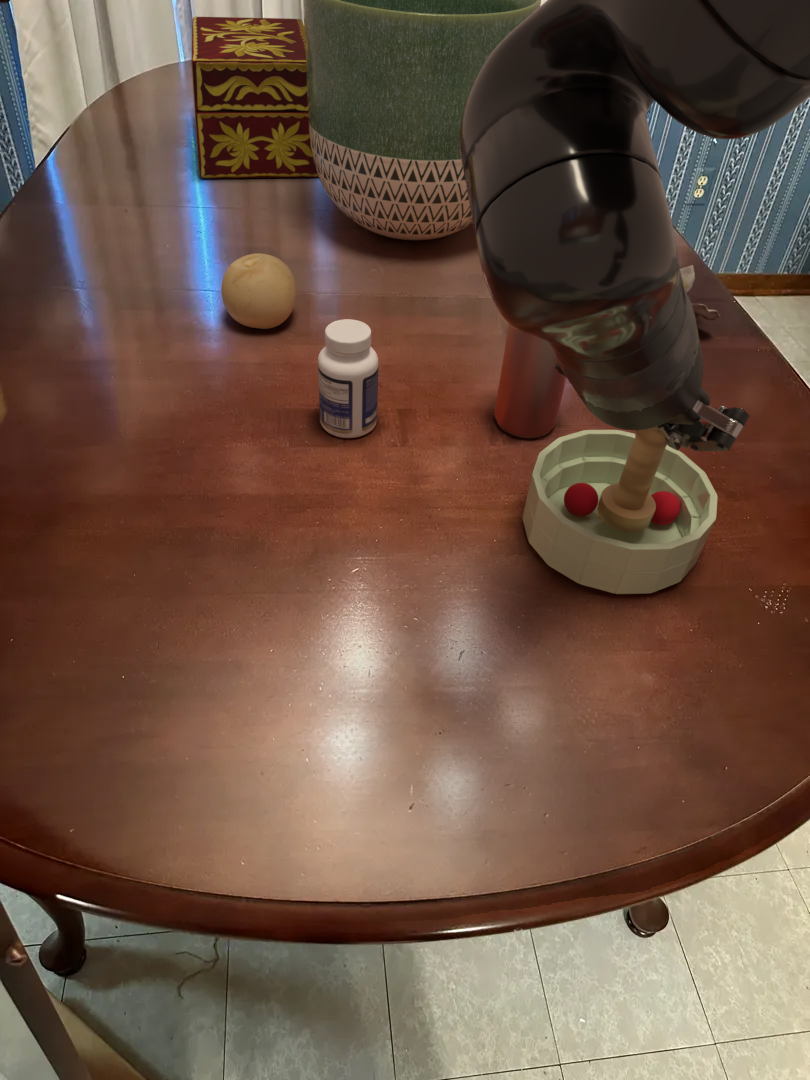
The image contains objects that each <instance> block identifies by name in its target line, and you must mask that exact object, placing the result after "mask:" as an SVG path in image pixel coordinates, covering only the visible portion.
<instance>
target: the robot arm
mask: <svg viewBox="0 0 810 1080" xmlns="http://www.w3.org/2000/svg"><path fill="white" fill-rule="evenodd" d="M809 98H810V0H546V1H545V2H543V3H541V6H540V7H539V8H538V9H537V10H536V11H534V12H533V13H532V14H531V15H530V16H529V17H527V18H526V19H525V20H524V21H523V22H522V23H520V24H519V25H518V26H517V27H516V28H515V29H514V30H512V31H511V32H510V33H509V34H508V35H507V36H506V37H505V38H504V39H503V40H502V41H501V42H500V43H499V44H498V45H497V47H496V48H495V49H494V50H493V52H492V53H491V54H490V55H489V57H488V58H487V59H486V61H485V63H484V64H483V66H482V67H481V69H480V71H479V73H478V75H477V77H476V79H475V80H474V83H473V85H472V87H471V90H470V92H469V95H468V97H467V100H466V103H465V106H464V110H463V114H462V118H461V124H460V134H459V141H460V155H461V161H462V166H463V171H464V177H465V182H466V187H467V192H468V198H469V203H470V209H471V214H472V220H473V223H472V224H473V229H474V230H473V231H474V236H475V241H476V248H477V253H478V258H479V263H480V268H481V272H482V274H483V276H482V277H483V279H484V282H485V285H486V288H487V290H488V292H489V295H490V297H491V299H492V301H493V303H494V304H495V307H496V309H497V311H498V312H499V314H500V315H501V317H502V318H503V319H504V320H505V322H506V323H508V325H509V324H510V325H511V326H513V327H514V328H516V329H517V330H519V331H522V332H525V333H528V334H531V335H534V336H537V337H539V338H541V339H543V340H546V341H548V342H549V343H550V345H551V346H552V348H553V349H554V352H555V355H556V358H557V361H558V363H557V364H556V366H555V368H556V369H557V370H558V372H559V373H560V374H562V375H564V376H565V377H566V380H568V382H569V384H570V385H571V386H572V388H573V389H574V391H575V392H576V394H577V395H578V397H579V398H580V399H581V401H582V402H583V404H584V405H585V407H586V408H587V410H588V411H589V412H590V414H592V415H593V416H594V417H595V418H596V419H597V420H599V421H601V422H602V423H604V424H606V425H607V426H610V427H613V428H616V429H618V430H623V431H637V430H644V429H649V428H651V429H652V430H653V431H654V432H656V433H658V434H660V435H662V436H665V439H666V440H667V442H668V443H667V445H668V446H669V447H671V448H673V449H675V450H678V451H680V449H681V448H684V449H688V448H690V449H691V450H692V451H695V452H697V451H698V452H701V453H703V452H704V453H705V452H721V451H722V452H723V451H730V449H731V448H732V447H733V445H734V443H735V442H736V440H737V438H739V437H738V436H739V435H740V433H741V432H742V430H743V429H744V427H745V426H746V424H747V422H748V420H750V417H751V415H750V414H749V413H748V412H747V411H746V410H745V409H743V408H740V407H736V406H735V407H734V406H733V407H727V406H725V405H723V404H721V405H719V406H718V408H717V409H715V408H714V407H712V406H711V405H710V404H711V396H710V394H709V393H708V391H707V390H706V389H704V388H703V387H702V384H703V378H704V355H703V350H702V345H701V339H700V334H699V329H698V325H697V318H695V314H694V310H693V307H692V304H693V303H692V301H691V298H690V296H689V294H688V292H686V291H685V289H684V286H683V282H682V277H681V272H680V269H681V268H680V265H679V257H678V256H679V255H678V248H677V243H676V236H675V231H674V226H673V225H674V224H673V219H672V216H671V211H670V207H669V203H668V198H667V195H666V189H665V185H664V182H663V179H662V174H661V170H660V167H659V166H660V165H659V162H658V160H657V154H656V150H655V146H654V141H653V139H652V134H651V130H650V127H649V123H648V118H647V114H648V112H649V110H650V109H651V107H652V106H653V104H654V102H655V103H656V104H657V105H658V106H659V107H660V108H661V109H663V111H665V113H667V114H668V115H669V116H670V117H671V118H672V119H674V120H675V121H676V122H677V123H679V124H681V125H682V126H684V127H686V128H687V129H689V130H691V131H692V132H695V133H697V134H699V135H702V136H706V137H709V138H714V139H719V140H737V139H743V138H747V137H750V136H753V135H756V134H758V133H761V132H762V131H765V130H766V129H768V128H770V127H772V126H773V125H774V124H776V123H777V122H779V121H780V120H782V119H783V118H785V117H786V116H788V115H789V114H790V113H792V112H793V111H794V110H795V109H797V108H798V107H799V106H801V105H802V104H803V103H804V102H805V101H807V100H808V99H809Z"/></svg>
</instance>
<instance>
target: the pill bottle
mask: <svg viewBox="0 0 810 1080" xmlns="http://www.w3.org/2000/svg"><path fill="white" fill-rule="evenodd" d="M324 342H325V343H324V344H325V346H324V347H322V348H321V350H320V352H319V354H318V357H317V370H318V371H317V373H318V401H319V402H318V403H319V423H320V425H321V427H322V428H323V429H324V430H325V431H326V432H327V433H328V434H330V435H332V436H334V437H338V438H342V439H355V438H360V437H362V436H365V435H367V434H369V433H371V432H372V431H373V430H374V429H375V427H376V425H377V422H378V403H379V401H378V399H379V357H378V354H377V352H376V351H375V349H374V348H373V347H372V330H371V327H370V326H369V325H368V324H367V323H366V322H363V321H361V320H356V319H353V318H352V319H351V318H350V319H349V318H347V319H346V318H345V319H344V318H343V319H338V320H335V321H332V322H331V323H329V324H328V325H327V326H326V327H325V330H324Z"/></svg>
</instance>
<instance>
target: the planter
mask: <svg viewBox="0 0 810 1080" xmlns="http://www.w3.org/2000/svg"><path fill="white" fill-rule="evenodd" d="M302 5H303V25H304V31H305V49H306V75H307V97H308V115H309V134H310V143H311V150H312V154H313V158H314V163H315V166H316V170H317V173H318V176H319V177H318V178H319V180H320V183H321V185H322V187H323V189H324V191H325V193H326V194H327V196H328V198H330V200H331V201H332V202H333V203H334V205H335V206H336V207H337V208H338V209H339V210H340V211H341V212H342V213H343V214H344V215H345V216H347V217H348V218H349V219H350V220H351V221H353V222H355V224H357V225H359V226H361V227H362V228H364V229H366V230H368V231H370V232H372V233H374V234H377V235H380V236H382V237H383V236H384V237H386V238H391V239H395V240H403V241H427V240H434V239H435V240H436V239H440V238H443V237H444V238H445V237H447V236H449V235H452V234H455V233H457V232H459V231H461V230H463V229H465V228H467V227H468V226H470V225H472V224H473V220H472V214H471V209H470V203H469V198H468V192H467V187H466V182H465V177H464V171H463V166H462V161H461V155H460V141H459V134H460V124H461V118H462V114H463V110H464V106H465V103H466V100H467V97H468V95H469V92H470V90H471V87H472V85H473V83H474V80H475V79H476V77H477V75H478V73H479V71H480V69H481V67H482V66H483V64H484V63H485V61H486V59H487V58H488V57H489V55H490V54H491V53H492V52H493V50H494V49H495V48H496V47H497V45H498V44H499V43H500V42H501V41H502V40H503V39H504V38H505V37H506V36H507V35H508V34H509V33H510V32H511V31H512V30H514V29H515V28H516V27H517V26H518V25H519V24H520V23H522V22H523V21H524V20H525V19H526V18H527V17H529V16H530V15H531V14H532V13H533V12H534V11H536V10H537V9H538V8H539V7H540V6H541V5H542V0H302Z"/></svg>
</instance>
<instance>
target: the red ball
mask: <svg viewBox="0 0 810 1080" xmlns="http://www.w3.org/2000/svg"><path fill="white" fill-rule="evenodd" d="M564 504H565V507H566V509H567V510H568V511H569V512H570V513H571V514H573V515H576V516H586V515H589V514H591V513H592V512H593V511H594V510H595V509H596V507H597V505H598V494H597V492H596V490H595V489H594V488H593V487H592V486H591V485H589V484H587V483H576V484H574V485H572V486H570V487H569V488H568V489H567V491H566V493H565V495H564Z"/></svg>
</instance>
